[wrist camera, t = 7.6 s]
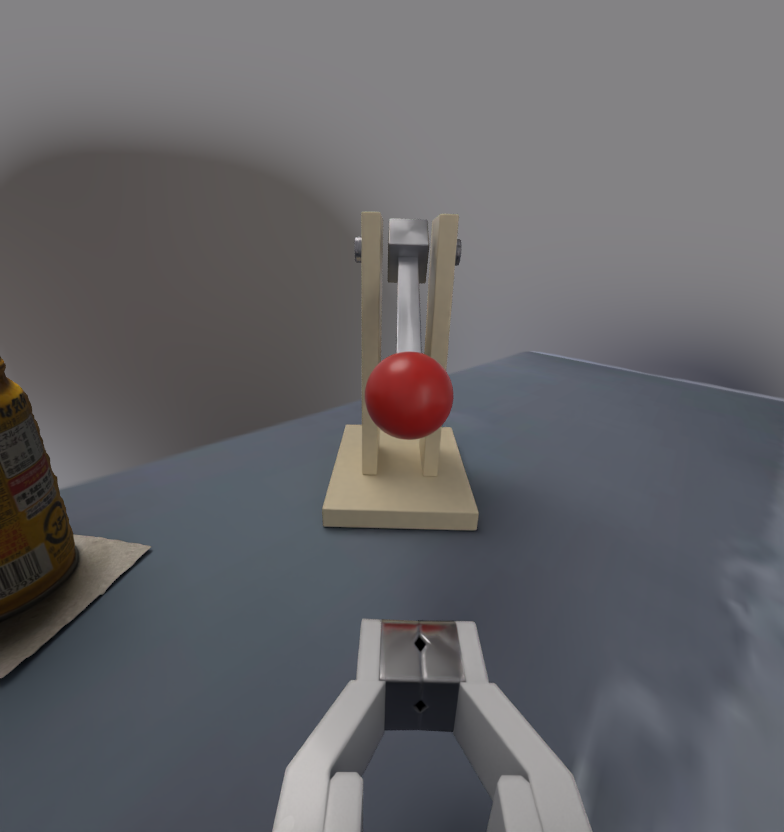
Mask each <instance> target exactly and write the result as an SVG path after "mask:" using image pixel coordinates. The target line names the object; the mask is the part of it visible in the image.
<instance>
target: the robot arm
mask: <svg viewBox="0 0 784 832" xmlns="http://www.w3.org/2000/svg"><path fill="white" fill-rule="evenodd" d="M384 730H426V731H445V732H453V735H454V736H455V738H456V740H457V741H458V743H459V745H460V747H461V748H462V750H463V752H464V753H465V755H466V757H467V758H468V760H469V762H470V763H471V765H472V767H473V769H474V770H475V772H476V774H477V775H478V777H479V779H480V780H481V782H482V784H483V785H484V787H485V789H486V791H487V792H488V794H489V796H490V797H491V799H492V801H493V805H492V809H491V813H490V818H489V822H488V827H487V831H486V832H592V829H591V826H590V823H589V820H588V817H587V814H586V811H585V808H584V805H583V803H582V800H581V797H580V794H579V791H578V788H577V785H576V782H575V779H574V776H573V774H572V773H571V772H570V771H569V770H568V768H567V767H566V766H565V765H564V764H563V763H562V761H561V760H560V759H559V758H558V757H557V756H556V754H555V753H554V752H553V751H552V750H551V749H550V747H549V746H548V745H547V744H546V743H545V741H544V740H543V739H542V738H541V737H540V736H539V734H538V733H537V732H536V731H535V730H534V729H533V727H532V726H531V725H530V724H529V723H528V721H527V720H526V719H525V718H524V717H523V716H522V714H521V713H520V712H519V711H518V710H517V709H516V707H515V706H514V705H513V704H512V703H511V702H510V700H509V699H508V698H507V697H506V696H505V694H504V693H503V692H502V691H501V690H500V689H499V687H498V686H497V685H496V684H495V683H489V680H488V676H487V672H486V667H485V663H484V658H483V654H482V649H481V645H480V640H479V636H478V631H477V627H476V624H475V623H474V622H471V621H425V620H418V621H404V620H384V619H382V622H381V619H362V623H361V631H360V642H359V654H358V665H357V676H356V680H350V681H349V683H348V684H347V685H346V687H345V688H344V690H343V691H342V692H341V694H340V695H339V696H338V698H337V699H336V701H335V702H334V703H333V705H332V706H331V707H330V709H329V710H328V711H327V713H326V714H325V716H324V717H323V718H322V720H321V721H320V722H319V724H318V725H317V727H316V728H315V729H314V731H313V732H312V733H311V735H310V736H309V737H308V739H307V740H306V742H305V743H304V744H303V746H302V747H301V748H300V750H299V751H298V753H297V754H296V755H295V757H294V758H293V759H292V761H291V762H290V764H289V765H288V766H287V768H286V771H285V775H284V780H283V785H282V789H281V794H280V798H279V803H278V808H277V812H276V817H275V822H274V826H273V831H272V832H363V779H362V778H361V777H362V775H363V773H364V771H365V770H366V768H367V766H368V764H369V762H370V760H371V758H372V756H373V754H374V752H375V750H376V748H377V746H378V744H379V742H380V740H381V739H382V737H383V735H384Z"/></svg>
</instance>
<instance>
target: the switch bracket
mask: <svg viewBox="0 0 784 832" xmlns="http://www.w3.org/2000/svg"><path fill="white" fill-rule="evenodd" d="M361 214H362V215H361V221H362V222H361V226H362V227H361V228H362V229H361V234H362V236H356V238H355V261H356V262H357V263H362V425H346V427H345V430H344V434H343V437H342V441H341V444H340V448H339V451H338V455H337V458H336V462H335V465H334V469H333V472H332V476H331V479H330V483H329V487H328V490H327V494H326V497H325V501H324V504H323V508H322V517H323V526H324V527H360V528H398V529H436V530H477V523H478V516H479V512H478V509H477V506H476V503H475V500H474V497H473V494H472V490H471V487H470V484H469V481H468V478H467V475H466V472H465V469H464V466H463V463H462V459H461V456H460V453H459V450H458V447H457V444H456V441H455V438H454V435H453V431H452V428H450V427H442V426H441V427H440V428H439V429H438V430H436V431H435V432H434V433H432V434H430V435H428V436H426V437H423V438H420V439H415V440H403V439H398V438H395V437H392V436H390V435H388V434H386V433H384V432H383V431H382V430H381V429H379V428H378V427H377V426H376V425H375V423H374V422H373V421H372V419H371V417H370V416H369V413H368V411H367V408H366V403H365V388H366V384H367V381H368V378H369V376H370V374H371V372H372V371H373V370H374V368H375V367H376V366H377V365H378V364H379V363H380V362H381V322H382V319H381V317H382V258H383V218H382V216H381V213H380V212H362V213H361ZM458 220H459V215H458V214H440V215H439V216H437V217H436V218H435V219H434V220H433V221H432V234H431V250H430V268H429V284H428V301H427V319H426V335H425V352H424V354H425V355H428V356H430V357H431V358H433V359H435V360H436V361H437V362H438V363H439V364H440V365H441V366H442V367H443V368H444V369H445V370H446V367H447V355H448V342H449V331H450V330H449V329H450V319H451V305H452V294H453V281H454V270H455V269H454V268H455V265H456V266H457V265H459V262H460V257H461V240H460V239H457V233H458Z"/></svg>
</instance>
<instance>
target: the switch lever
mask: <svg viewBox="0 0 784 832" xmlns="http://www.w3.org/2000/svg"><path fill="white" fill-rule="evenodd" d="M428 252H429V236H428V221H427V220H421V219H390V220H389V238H388V282H394V283H397V328H396V354H393V355H391V356H389V357H387V358H385V359H384V360H382V361H381V362H380V363H379V364H378V365H377V366H376V367H375V368H374V370H373V371H372V372H371V374H370V376H369V378H368V381H367V384H366V388H365V403H366V408H367V411H368V413H369V416H370V417H371V419H372V421H373V422H374V423H375V425H376V426H377V427H378V428H379V429H381V430H382V431H383V432H384V433H386V434H388V435H390V436H392V437H395V438H398V439H403V440H415V439H420V438H423V437H426V436H428V435H430V434H432V433H434V432H435V431H436V430H438V429H439V428H440V427H441V426H442V425H443V423H444V422H445V421H446V419H447V417H448V416H449V414H450V411H451V408H452V404H453V387H452V383H451V380H450V378H449V376H448V374H447V372H446V370H445V369H444V368H443V367H442V366H441V365H440V364H439V363H438V362H437V361H436V360H435V359H433V358H431V357H430V356H428V355H425V354H423V353H422V347H421V320H420V294H419V283H425V282H426V273H427V263H428Z"/></svg>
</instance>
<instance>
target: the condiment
mask: <svg viewBox="0 0 784 832" xmlns="http://www.w3.org/2000/svg"><path fill="white" fill-rule="evenodd" d="M5 368H6V365H5V364H4V361H3V359H1V357H0V678H3V677H4V676H5V675H7V674H8V673H9V672H10V671H11V670H13V669H14V668H15V667H16V666H17V665H18V664H19V663H21V662H22V661H23V660H24V659H25V658H27V657H29V656H31V655H32V654H33V653H34V652H35V651H36V650H37V649H38V648H40V647H41V646H42V645H43V644H44V643H46V642H47V641H48V640H49V639H50V638H51V637H53V636H54V635H55V634H56V633H57V632H58V631H59V630H60V629H61V628H62V627H63V626H65V625H66V624H67V623H69V622H70V621H71V620H72V619H74V618H75V617H76V616H77V615H78V614H79V613H80V612H81V611H82V610H83V609H85V608H86V607H87V606H88V605H89V604H90V603H91V602H92V601H93V600H94V599H95V598H96V597H98V596H99V595H101V594H102V595H103V594H104V593H105V591H106V590H107V588H108V587H109V586H110V585H111V584H112V582H113V581H115V580H116V579H117V578H118V577H119V576H120V575H121V574H122V573H123V572H125V571H126V570H127V569H128V568H130V567H131V566H132V565H133V564H134V563H135V561H136V560H137V559H138V558H139V557H141V556H142V555H143V554H144V553H145V552H146V551H147V550H148V549H149V548H150V547H151V546H146V545H141V544H137V543H127V542H123V541H120V540H110V539H105V538H101V537H99V538H97V537H93V536H81V535H73V531H72V529H71V526H70V524H69V518H68V516H67V513H66V507H65V505H64V501H63V499H62V498H61V496H60V492H59V488H58V483H57V477H56V476H55V475H54V473H53V471H52V469H51V465H50V457H49V456H48V454H47V453H46V450H45V448H44V444H43V440H42V438H41V436H40V430H39V426H38V424H37V421H36V420H35V419H34V415H33V414H32V406H31V403H30V401H29V399H28V396H27V394H26V393H25V392H24V391H23V390H22V388H21V387H20V386H19V385H17V384H16V383H14V382H13V381H12V380H10V379H8V378H7V377H6V376H5V373H4V371H5Z"/></svg>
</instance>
